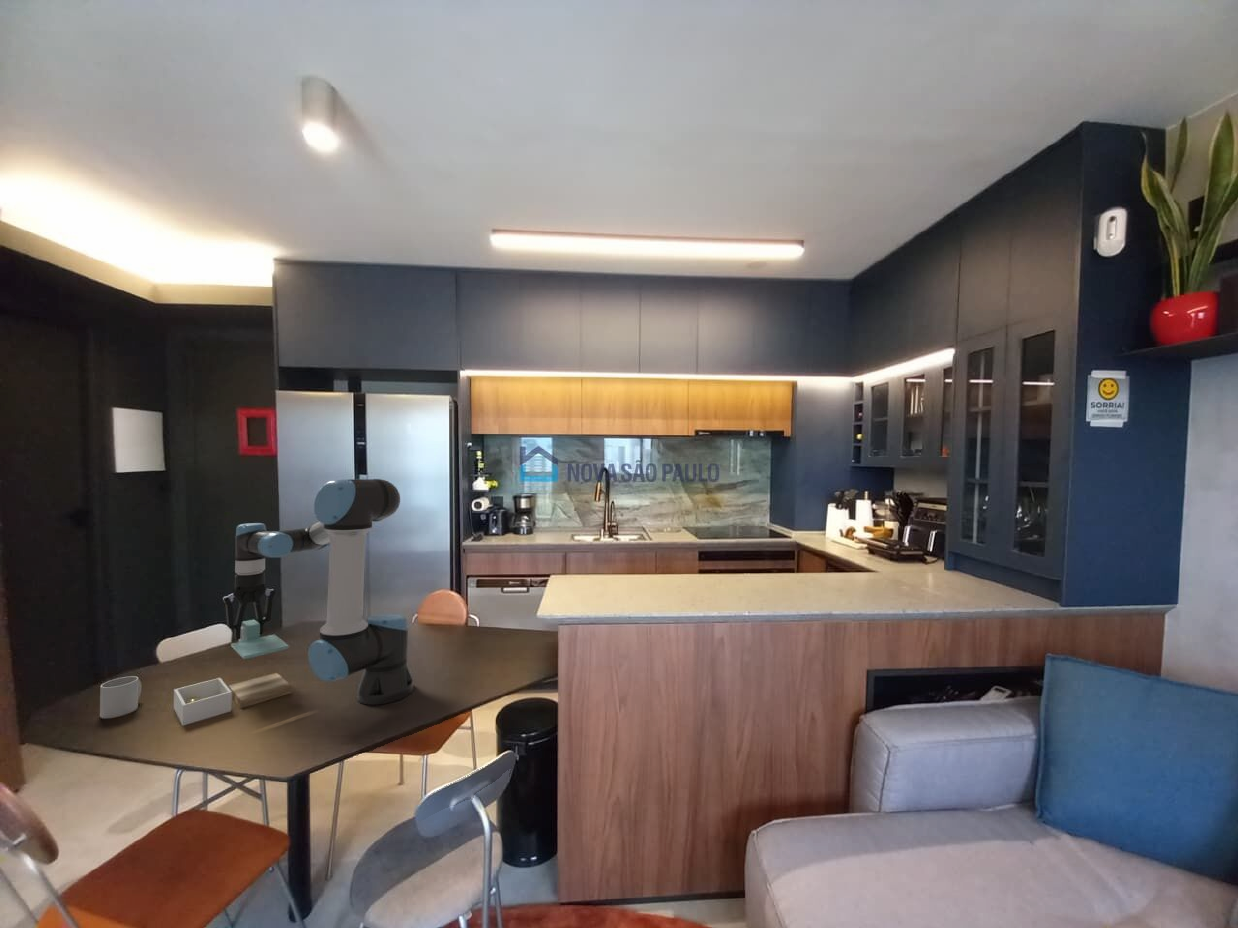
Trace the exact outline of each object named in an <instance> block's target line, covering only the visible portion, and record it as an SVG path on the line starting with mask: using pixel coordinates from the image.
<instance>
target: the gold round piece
mask: <svg viewBox="0 0 1238 928" xmlns="http://www.w3.org/2000/svg"><path fill="white" fill-rule="evenodd" d="M198 700H200V697H194V698H191V699H188V700H187V703H190V702H194V701H198Z"/></svg>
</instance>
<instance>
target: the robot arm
mask: <svg viewBox="0 0 1238 928" xmlns="http://www.w3.org/2000/svg"><path fill="white" fill-rule="evenodd" d="M313 502H314V503H313V512H314V515H316V516H315V518H316V520H317V521H318V522H316V523H314V524H312V525H310V526H308V527H305V528H293V529H285V530H284V529H283V530H275V531H274V530H273V531H268V530H267V527H266V524H265V523H261V522H253V523H252V522H251V523H241V524H238V525H237V526H236V531H235V536H234V538H235V548H234V549H235V551H234V552H235V556H234V557H235V561H234V562H235V564H234V565H235V566H234V572H235V575H234V590H233V591H232V593H231V594H228V595H227V596H226V595H225V596H222V600H223V602H224V605H225V614H226V615H225V616H226V625H227V628H229V629H230V630H231V629H234V639H235V640H238V642H241V641H244V628H243V627H242V622H243V620H244V616H245V611H246V607H247V604H249V603H253V608H254V614H255V617H256V621H257V622H258V623H260V636H261V635H263V634H264V624H265V623H267V622H270V621H271V617H272V609H273V599H274V596H275V594H276V592H277V591H276V590H275V589H273V588H271V589H270V588H267V586H266V577H265V576H266V572H265V570H266V557H267V558H270V559H274V558H281V557H285V556H286V555H288V554H296V553H301V552H302V553H304V552H309V551H313V550H314V551H317V550H318V551H319V550H322V549H327V548H329V552H328V554H329V555H328V582H327V603H326V604H327V607H326V622H325V623H324V625H322V626H321V627H320V629H319V639H316V640H315V641H313V642H312V643H311V644H310V646H309V648H308V652H307V657H308V658H307V659H308V663H309V665H310V668H311V670H312V672H313V673H314V674H315V676H316V677H317V678H318V679H320V680H321V681H324V682H328V683H331V682H336V681H338V680H341V679H346V678H347V677H349V676H350V675H353V674H355V673H358V672H360V671H362V670H363V673H362V676H361V678H360V682H359V685H358V688H357V691H356V694H357V696H356V698H357V699H356V700H357V701H358V702H359V703H360V704H364V705H368V706H369V705H370V706H371V705H373V706H374V705H383V704H384V705H385V704H389V703H393V702H396V701H398V700H401V699H403V698H405V697H408V696H409V694H411V693H412V691H413V690H414V679H413V675H411V674H412V673H411V671H410V668H409V665H408V633H409V632H408V631H409V629H408V620H407V618H406V617H405V616H403V615H402V614H393V613H392V614H391V613H384V614H383V613H382V614H374V615H370V616H366V618H365V619H364V617H363V614H364V613H363V612H364V609H363V608H364V589H365V587H364V586H365V585H364V583H365V564H366V563H365V561H366V535H367V533H368V532H369V531H370V530H372V529H373V523H374V522H375V523H376V522H381V521H383V520H384V519H387V518H389V517H391V516H392V515H394V514H395V513H396V511H397V510H398V509H399V507H400V504H401V494H400V491H399V490H398V488H397V487H396V486H395V485H394V484H393V483H392V482H389V481H388V480H386V479H380V478H373V479H367V478H366V479H364V478H363V479H357V478H356V479H355V478H353V479H352V478H349V479H348V478H345V479H337V480H336V479H334V480H330V481H328V482H326V483H324V484H323V485H322V487H321V488H319V490H318V491H317V493H316V495H315V498H314V501H313ZM264 594H265V595H266V598H265V603H264V604H265V605H264V615H263V611H262V606H261V598H262V597H263V596H264ZM234 598H235V599H236V600H238V608H237V612H236V618H235V621H234V611H233V603H232V602H233V601H234Z"/></svg>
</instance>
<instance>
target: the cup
mask: <svg viewBox="0 0 1238 928" xmlns="http://www.w3.org/2000/svg"><path fill="white" fill-rule="evenodd" d="M99 690H100V692H99V693H100V694H99V701H100V702H99V718H100V719H113V718H117V717H121V716H126V715H128V714H130V713H132V712H134V711H136V710H137V709H138V708H139V698H140V695H141V693H142V682H141V681H140V679H139V677H138V676H135V675H131V676H124V677H123V676H122V677H118V678H114V679H112V680H111V679H110V680H108V681H106V682H104V683H102V684H101V685H100V689H99Z"/></svg>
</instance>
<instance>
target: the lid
mask: <svg viewBox="0 0 1238 928" xmlns="http://www.w3.org/2000/svg"><path fill="white" fill-rule="evenodd" d="M241 627H243V628H244V641H241V642H239V641H237V642H233V643H230V646H231V648H233V650H234V651H235V652H236V653H237V654H238V655H239V656H240V657H241V658H242V659H243V660H246V659H252V658H256V657H261V656H264V655H268V654H272V653H277V652H281V651H283V650H287V649H290V645H288V643H286V642H285V641H284V640H283V639H281V638H280V637H278V636H277V635H276V634H269V635H264V636H261V635H260V623H258V622H257V619H256V620H255V619H248V620H244V621H242V626H241Z"/></svg>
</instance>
